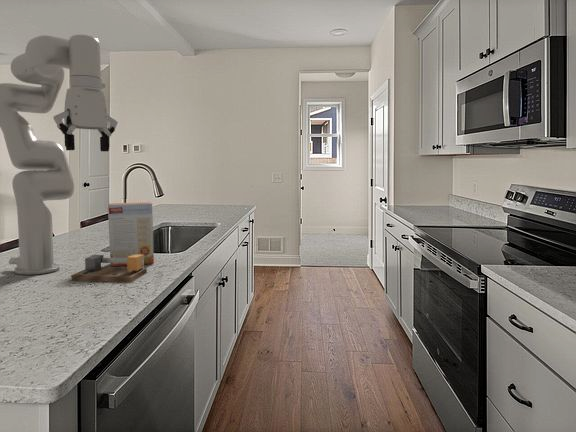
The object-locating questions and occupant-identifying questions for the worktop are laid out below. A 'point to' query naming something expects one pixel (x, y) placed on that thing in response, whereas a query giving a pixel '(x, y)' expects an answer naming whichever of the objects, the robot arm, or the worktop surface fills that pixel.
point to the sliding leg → (134, 262)
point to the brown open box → (109, 275)
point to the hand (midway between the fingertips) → (88, 150)
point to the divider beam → (95, 262)
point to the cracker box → (131, 231)
